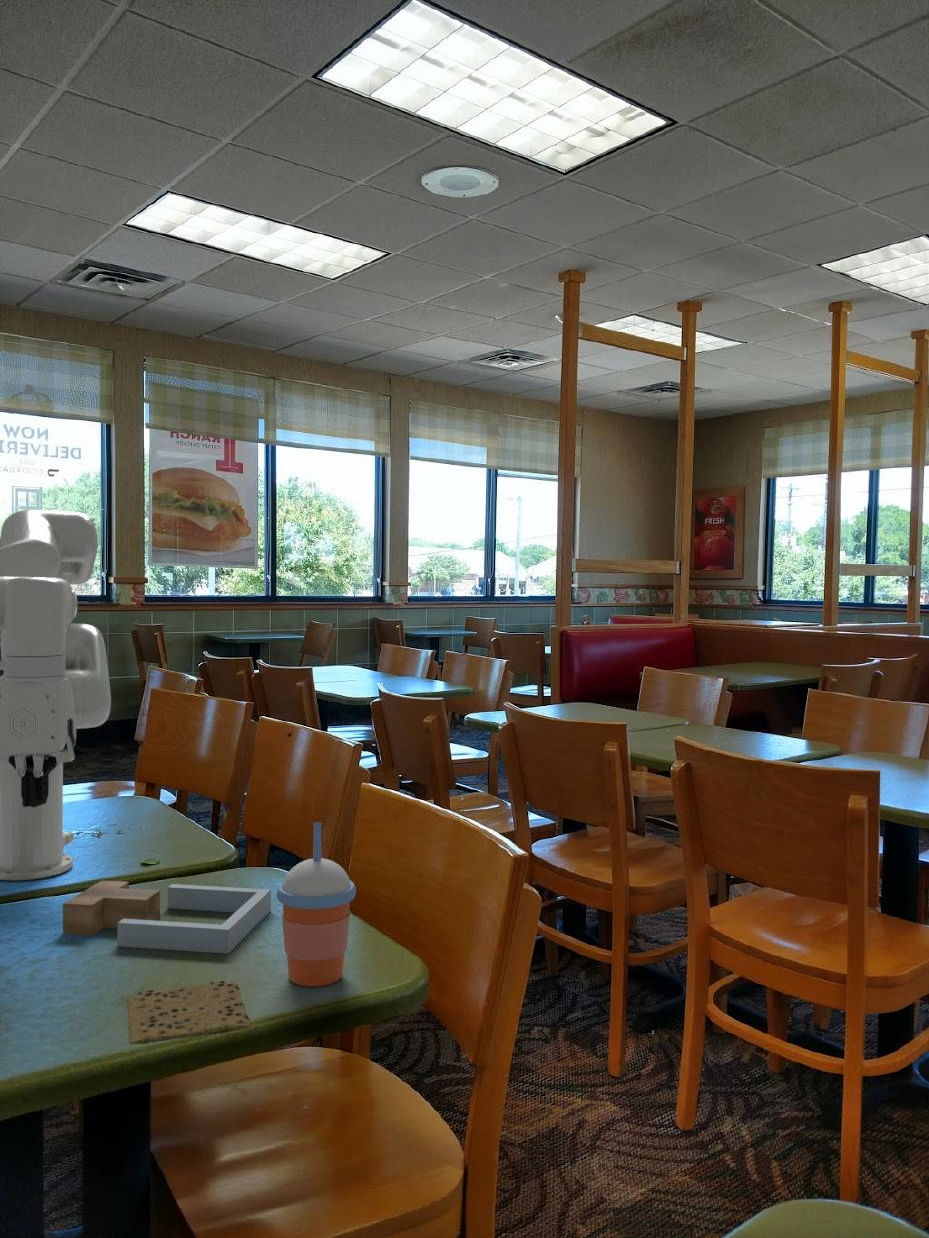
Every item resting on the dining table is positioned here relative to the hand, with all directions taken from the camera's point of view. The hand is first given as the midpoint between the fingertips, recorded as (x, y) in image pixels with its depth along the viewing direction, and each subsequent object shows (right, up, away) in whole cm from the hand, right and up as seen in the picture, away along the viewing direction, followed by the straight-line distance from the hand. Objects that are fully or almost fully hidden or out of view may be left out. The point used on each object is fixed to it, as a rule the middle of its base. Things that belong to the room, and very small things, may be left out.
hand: (34, 804), depth 129 cm
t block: (+11, -16, -1) cm, 20 cm away
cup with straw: (+41, -17, -17) cm, 47 cm away
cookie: (+28, -17, -27) cm, 43 cm away
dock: (+22, -16, -2) cm, 28 cm away
